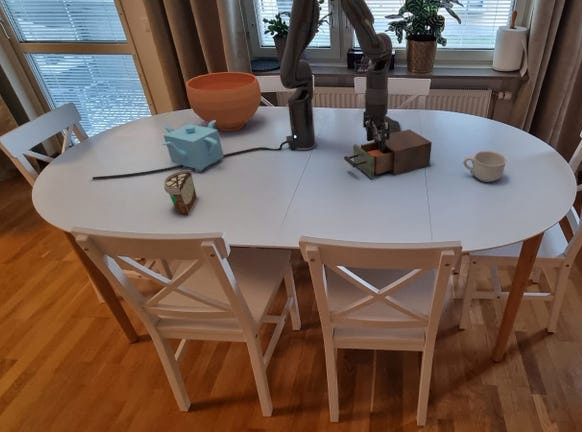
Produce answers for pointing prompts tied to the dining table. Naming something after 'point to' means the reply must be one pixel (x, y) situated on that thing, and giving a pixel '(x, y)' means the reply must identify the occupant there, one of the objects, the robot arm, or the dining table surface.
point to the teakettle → (194, 145)
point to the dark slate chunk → (393, 126)
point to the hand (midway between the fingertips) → (375, 145)
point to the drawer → (371, 159)
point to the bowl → (224, 98)
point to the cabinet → (408, 151)
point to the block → (374, 154)
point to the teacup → (487, 165)
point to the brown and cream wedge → (181, 191)
